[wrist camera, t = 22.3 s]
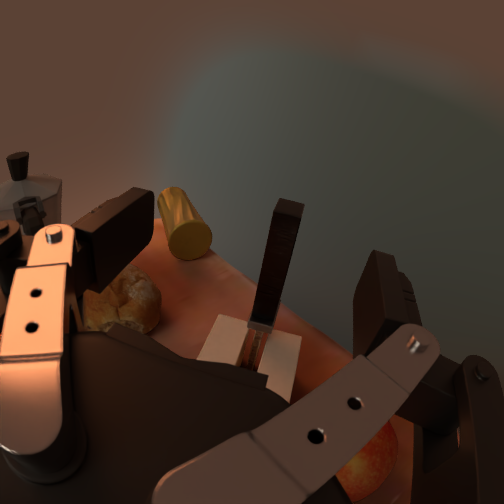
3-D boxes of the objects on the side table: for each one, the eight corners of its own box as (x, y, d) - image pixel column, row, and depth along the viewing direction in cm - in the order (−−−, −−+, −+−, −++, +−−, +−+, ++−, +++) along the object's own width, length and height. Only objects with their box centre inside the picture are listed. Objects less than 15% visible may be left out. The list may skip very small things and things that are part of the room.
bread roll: (169, 333, 38) (181, 269, 37) (131, 366, 27) (142, 286, 27) (101, 308, 39) (109, 248, 38) (52, 331, 28) (57, 256, 28)
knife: (254, 389, 29) (302, 221, 20) (234, 383, 29) (270, 213, 20) (262, 362, 32) (307, 201, 23) (243, 356, 32) (279, 194, 23)
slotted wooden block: (273, 437, 25) (288, 409, 22) (186, 412, 25) (186, 379, 23) (288, 371, 31) (302, 336, 28) (214, 350, 32) (219, 313, 29)
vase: (160, 253, 42) (148, 209, 53) (199, 266, 46) (179, 221, 57) (181, 214, 41) (165, 178, 52) (220, 230, 44) (195, 192, 55)
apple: (334, 415, 27) (369, 364, 23) (386, 478, 21) (437, 438, 17) (262, 450, 23) (285, 405, 19) (315, 527, 17) (360, 504, 13)
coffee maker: (6, 287, 32) (-24, 150, 23) (63, 267, 38) (48, 133, 29) (34, 372, 24) (-27, 197, 15) (107, 340, 30) (85, 168, 21)
